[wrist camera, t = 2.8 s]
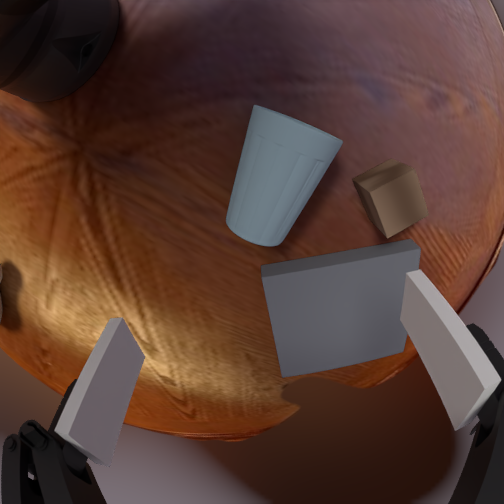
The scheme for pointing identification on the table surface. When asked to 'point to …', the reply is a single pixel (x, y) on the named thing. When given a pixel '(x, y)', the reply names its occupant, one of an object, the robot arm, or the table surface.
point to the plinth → (339, 306)
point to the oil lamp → (0, 294)
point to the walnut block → (391, 196)
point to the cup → (276, 175)
